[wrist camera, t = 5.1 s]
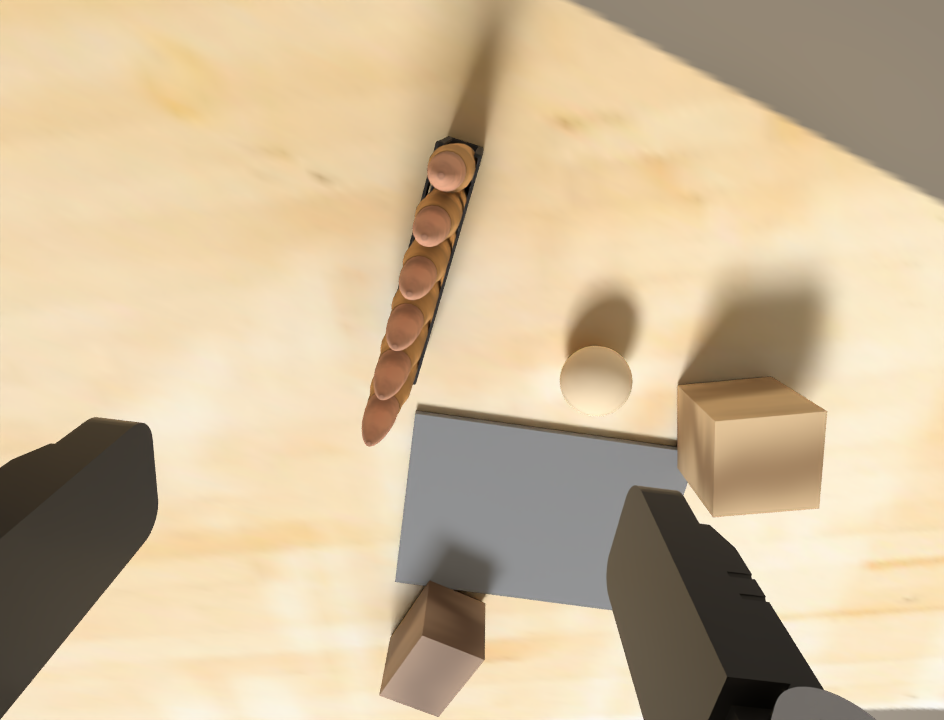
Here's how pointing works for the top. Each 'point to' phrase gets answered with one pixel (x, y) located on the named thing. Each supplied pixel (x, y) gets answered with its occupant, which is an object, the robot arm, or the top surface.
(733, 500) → the oak block
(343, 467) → the top surface
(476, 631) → the walnut block
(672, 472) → the pad
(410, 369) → the ammunition clip
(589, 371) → the cork ball
